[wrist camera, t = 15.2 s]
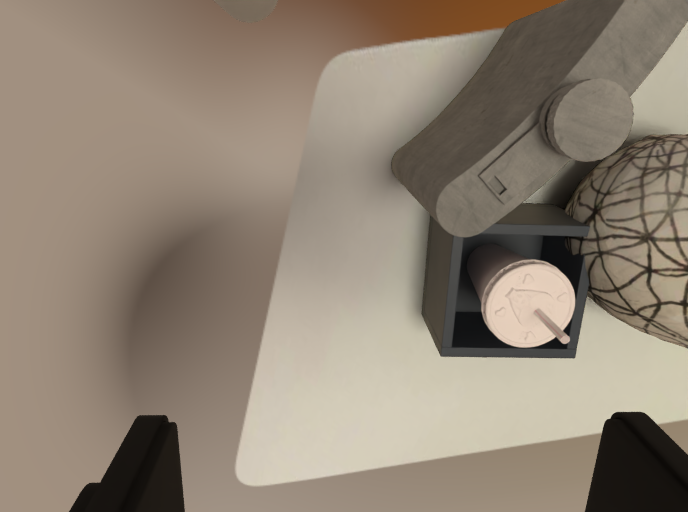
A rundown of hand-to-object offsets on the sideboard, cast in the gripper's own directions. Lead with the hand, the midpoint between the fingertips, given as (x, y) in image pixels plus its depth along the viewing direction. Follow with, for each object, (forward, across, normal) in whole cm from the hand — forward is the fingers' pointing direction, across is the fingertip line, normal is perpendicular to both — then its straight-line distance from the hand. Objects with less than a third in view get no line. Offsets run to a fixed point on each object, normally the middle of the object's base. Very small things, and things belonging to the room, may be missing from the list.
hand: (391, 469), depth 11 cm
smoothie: (+32, -13, +6) cm, 36 cm away
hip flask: (+34, -10, -7) cm, 36 cm away
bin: (+33, -13, +6) cm, 37 cm away
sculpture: (+33, -27, +4) cm, 43 cm away
